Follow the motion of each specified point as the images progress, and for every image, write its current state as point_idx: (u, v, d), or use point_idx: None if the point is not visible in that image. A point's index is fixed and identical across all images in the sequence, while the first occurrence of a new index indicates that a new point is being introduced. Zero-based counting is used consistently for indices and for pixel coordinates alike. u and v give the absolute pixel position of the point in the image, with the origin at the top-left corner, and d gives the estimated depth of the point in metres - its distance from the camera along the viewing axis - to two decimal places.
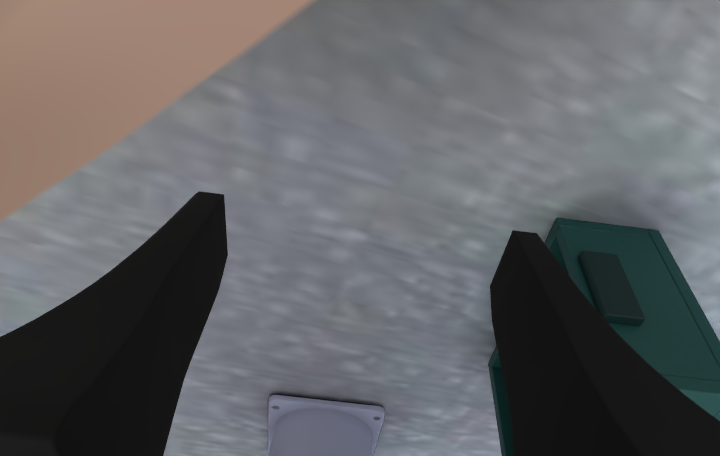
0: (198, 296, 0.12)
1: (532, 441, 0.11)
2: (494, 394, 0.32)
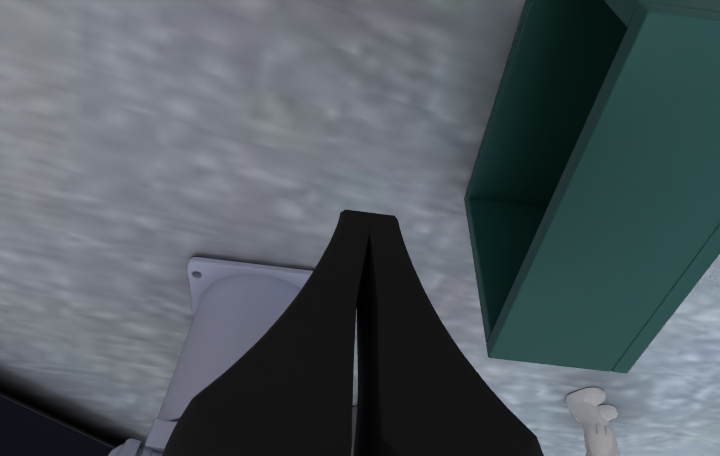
0: None
1: (359, 422, 0.11)
2: (470, 226, 0.24)
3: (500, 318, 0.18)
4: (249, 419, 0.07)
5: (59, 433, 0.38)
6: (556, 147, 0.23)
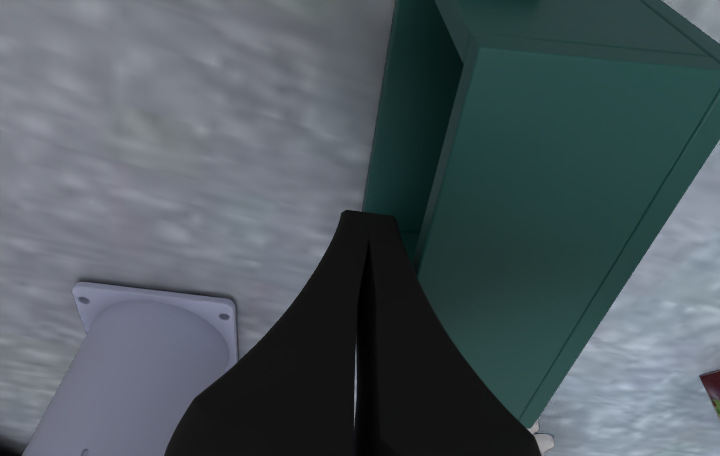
0: None
1: (358, 422, 0.11)
2: None
3: None
4: (251, 420, 0.07)
5: None
6: None
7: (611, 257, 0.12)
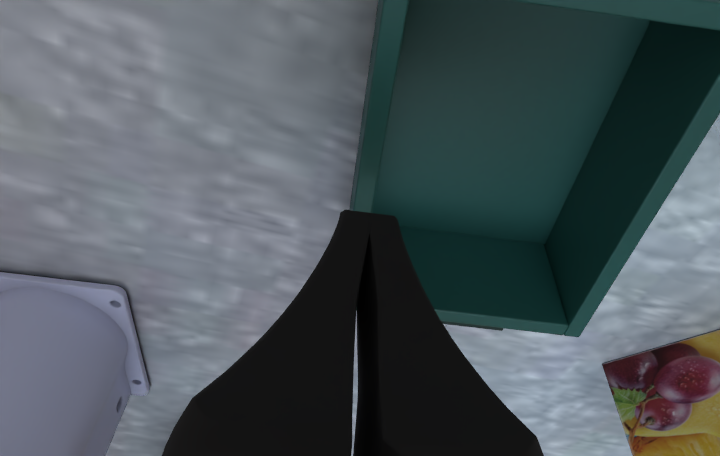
0: None
1: (359, 422, 0.11)
2: None
3: (587, 306, 0.19)
4: (249, 419, 0.07)
5: None
6: None
7: None
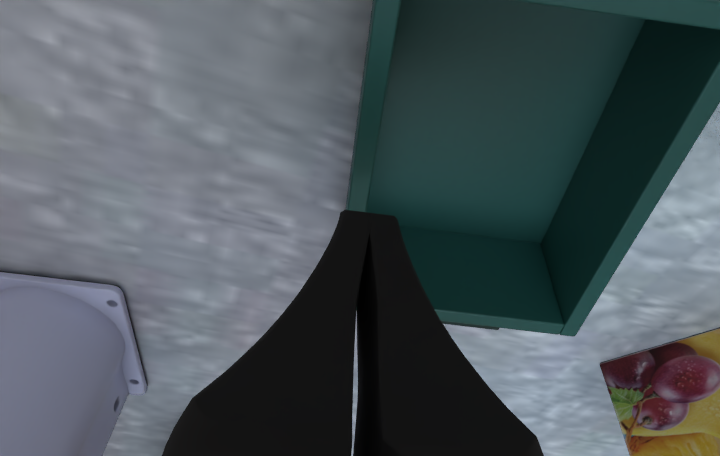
0: None
1: (359, 422, 0.11)
2: None
3: (583, 305, 0.19)
4: (249, 419, 0.07)
5: None
6: None
7: None
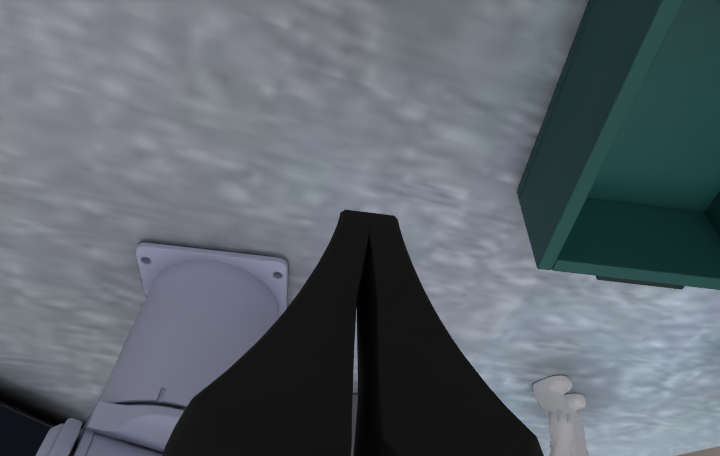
0: None
1: (359, 422, 0.11)
2: (598, 270, 0.21)
3: None
4: (248, 419, 0.07)
5: (22, 424, 0.37)
6: None
7: None
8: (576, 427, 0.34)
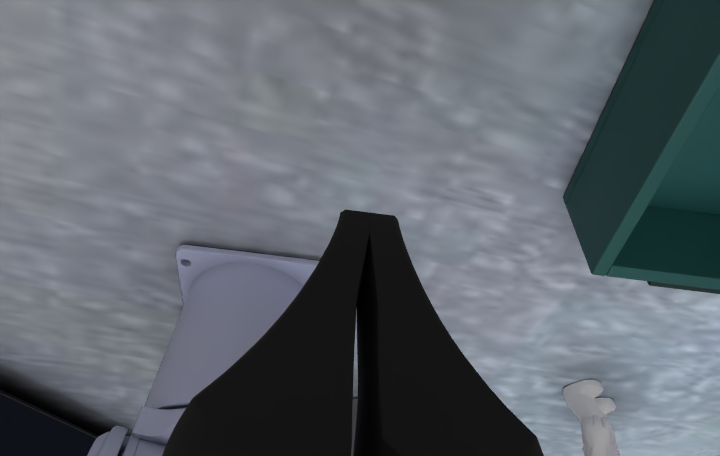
0: None
1: (359, 422, 0.11)
2: (652, 276, 0.21)
3: None
4: (249, 419, 0.07)
5: (49, 426, 0.37)
6: None
7: None
8: None
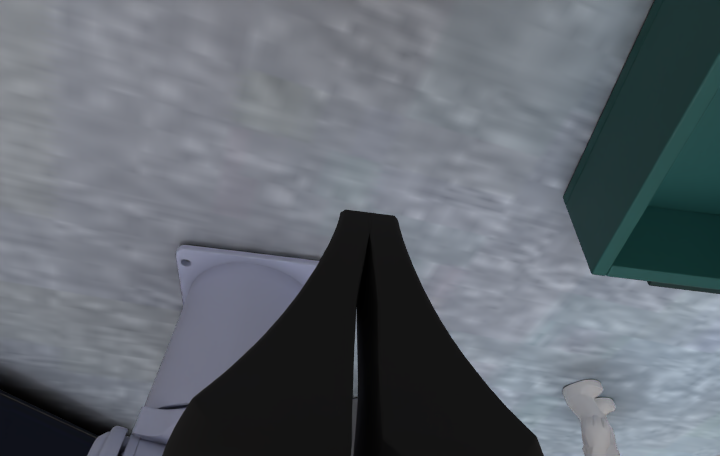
0: None
1: (359, 422, 0.11)
2: (652, 276, 0.21)
3: None
4: (249, 419, 0.07)
5: (49, 426, 0.37)
6: None
7: None
8: None
